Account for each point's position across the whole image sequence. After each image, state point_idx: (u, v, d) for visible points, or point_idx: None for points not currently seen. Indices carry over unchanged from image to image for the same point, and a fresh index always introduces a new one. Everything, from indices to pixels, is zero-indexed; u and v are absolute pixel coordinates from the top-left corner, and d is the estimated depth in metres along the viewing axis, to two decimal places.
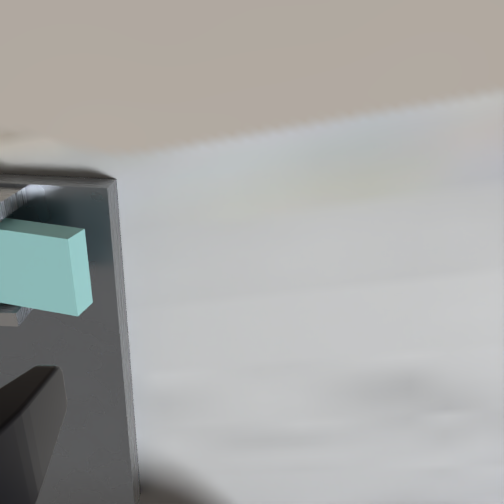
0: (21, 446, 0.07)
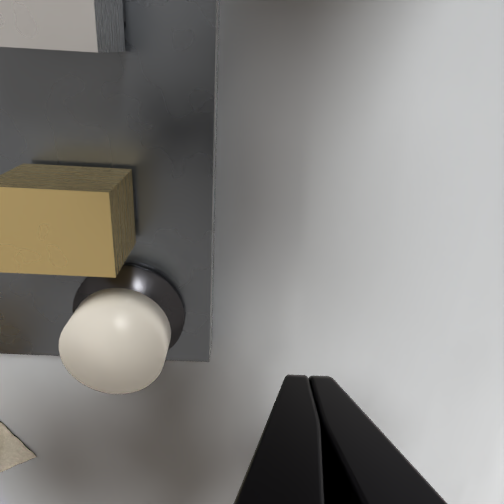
0: None
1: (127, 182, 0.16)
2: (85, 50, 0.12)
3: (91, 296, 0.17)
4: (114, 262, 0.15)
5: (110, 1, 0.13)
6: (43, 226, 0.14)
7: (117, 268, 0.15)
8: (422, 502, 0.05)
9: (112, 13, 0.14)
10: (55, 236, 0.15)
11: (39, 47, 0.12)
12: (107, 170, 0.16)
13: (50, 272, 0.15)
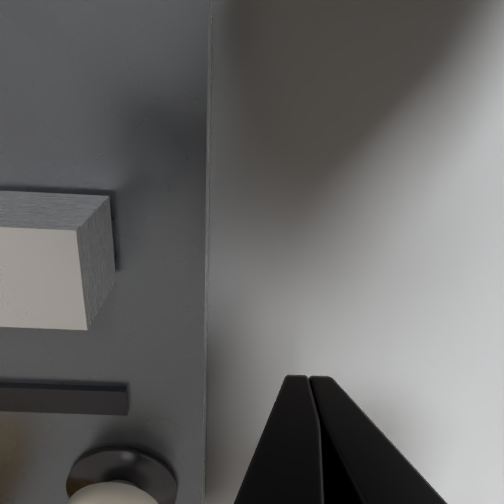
0: None
1: None
2: (75, 328, 0.13)
3: (83, 492, 0.18)
4: None
5: (100, 261, 0.14)
6: None
7: None
8: (423, 502, 0.05)
9: (103, 268, 0.14)
10: None
11: (29, 326, 0.13)
12: None
13: None
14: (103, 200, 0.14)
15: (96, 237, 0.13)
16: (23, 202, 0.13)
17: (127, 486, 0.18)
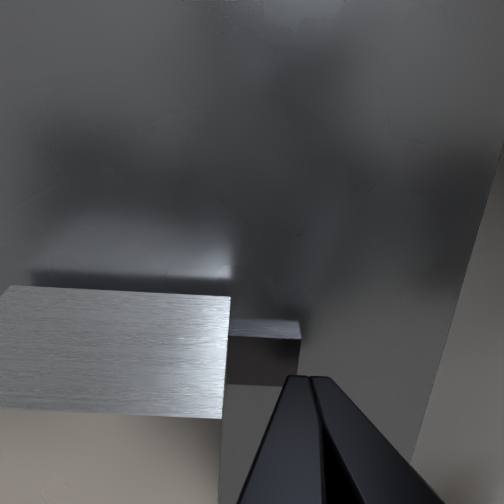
0: None
1: None
2: None
3: None
4: None
5: (222, 418, 0.08)
6: None
7: None
8: (421, 502, 0.05)
9: None
10: None
11: None
12: None
13: None
14: (226, 310, 0.08)
15: None
16: (91, 319, 0.07)
17: None
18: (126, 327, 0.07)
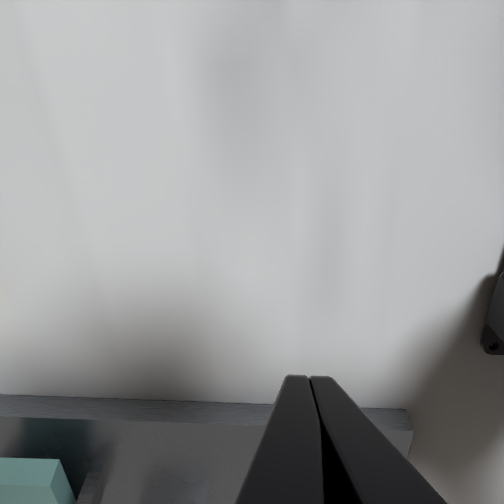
0: None
1: None
2: None
3: None
4: None
5: None
6: None
7: None
8: (422, 502, 0.05)
9: None
10: None
11: None
12: None
13: None
14: None
15: None
16: None
17: None
18: None
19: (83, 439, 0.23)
